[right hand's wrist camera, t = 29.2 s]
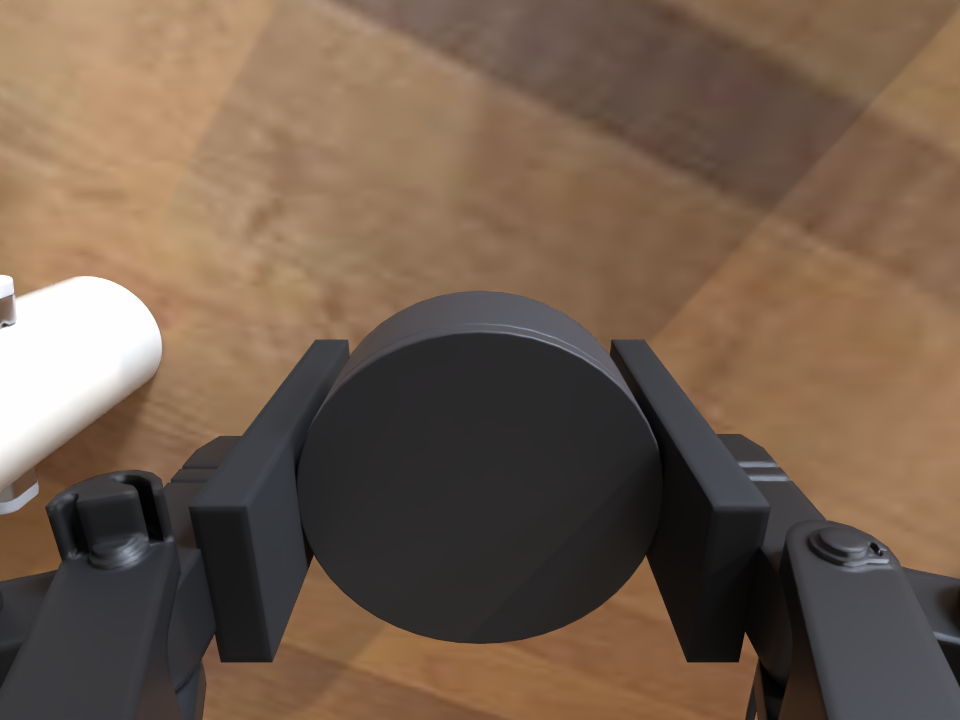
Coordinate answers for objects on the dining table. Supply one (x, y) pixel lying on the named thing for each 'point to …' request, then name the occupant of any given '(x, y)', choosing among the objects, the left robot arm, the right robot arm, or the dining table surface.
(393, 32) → the dining table surface
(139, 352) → the white cylinder
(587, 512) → the lid
